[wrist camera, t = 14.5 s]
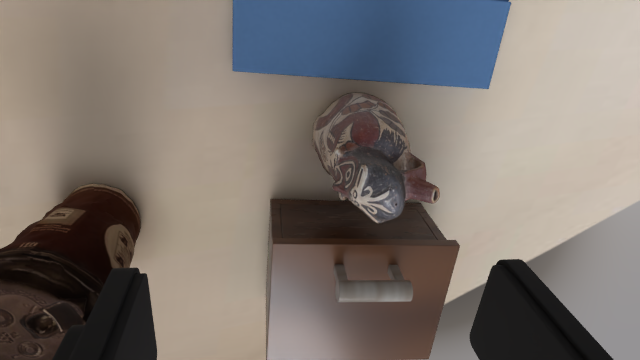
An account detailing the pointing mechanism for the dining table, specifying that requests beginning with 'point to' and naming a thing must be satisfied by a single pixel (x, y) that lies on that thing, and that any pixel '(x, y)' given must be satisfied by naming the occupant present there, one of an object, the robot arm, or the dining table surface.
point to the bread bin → (342, 225)
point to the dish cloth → (371, 39)
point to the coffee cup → (62, 269)
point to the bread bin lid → (356, 297)
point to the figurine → (370, 156)
